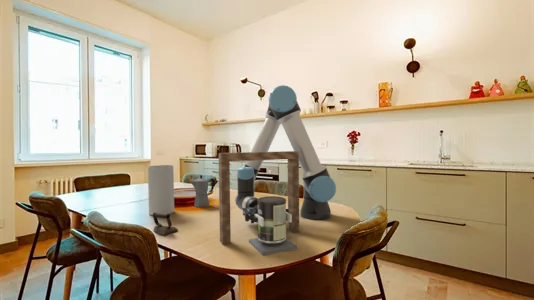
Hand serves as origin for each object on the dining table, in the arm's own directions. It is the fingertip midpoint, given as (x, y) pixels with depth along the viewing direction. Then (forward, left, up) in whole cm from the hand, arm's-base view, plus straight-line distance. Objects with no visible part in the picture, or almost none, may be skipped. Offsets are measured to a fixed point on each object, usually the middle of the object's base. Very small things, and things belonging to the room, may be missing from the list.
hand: (277, 220), depth 92 cm
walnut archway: (0, -14, -10) cm, 17 cm away
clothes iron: (+35, -38, -10) cm, 53 cm away
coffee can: (0, -4, -8) cm, 9 cm away
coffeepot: (+11, -78, -10) cm, 80 cm away
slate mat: (0, -4, -10) cm, 11 cm away
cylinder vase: (+34, -70, -10) cm, 79 cm away
